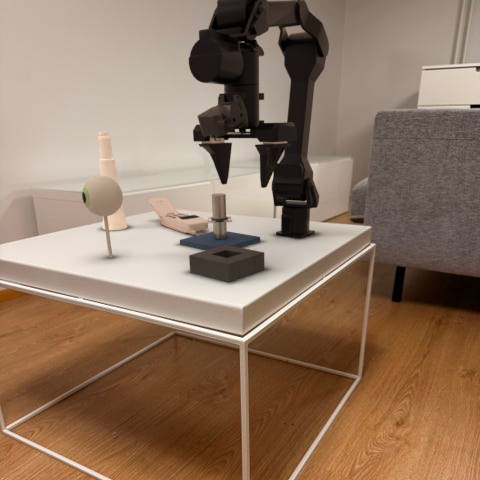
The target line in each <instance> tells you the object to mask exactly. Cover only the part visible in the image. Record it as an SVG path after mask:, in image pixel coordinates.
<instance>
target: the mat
mask: <svg viewBox="0 0 480 480" xmlns="http://www.w3.org/2000/svg"><path fill="white" fill-rule="evenodd" d="M260 242H261V236H257V235H251V234H245V233H240V232H233V231H229V230H227V239H223V240H216V239H214V234H213V231H209V232H205V233H202V234H197V235H193V236H189V237H185V238H181V239H179V245H181V246H186V247H191V248H195V249H200V250H203V251H206V250H209V249H213V248H216V247H220V246H223V245H229V246H234V247H239V248H244V247H247V246H250V245H253V244H256V243H260Z"/></svg>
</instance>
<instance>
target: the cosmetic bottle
mask: <svg viewBox="0 0 480 480" xmlns="http://www.w3.org/2000/svg"><path fill="white" fill-rule="evenodd" d="M98 135H99V136H98V137H97V140H98V142H97V143H98V149H99V150H98V151H99V157H100V158H99V159H98V167H99V176H106V177H109V178H111V179H113V180H114V181H115V182H116V183H117V184H118V185H119V186H120V183H119V182H120V181H119V176H118V169H117V165H116V159H115V158H114V157H113V148H112V140H111V136H109V131H99V132H98ZM107 218H108V226H109V231H121V230H126V229H127V228H128V222H127V217H126V215H125V210H124V205H123V204H122V205H121V207H120V208H119V210H118V211H117V212H115V213H114V214H112V215H110V216H107ZM102 230H105V224H104V217H103V216H102Z"/></svg>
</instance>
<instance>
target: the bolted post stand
mask: <svg viewBox="0 0 480 480" xmlns="http://www.w3.org/2000/svg"><path fill="white" fill-rule="evenodd" d="M226 197H227V196H226V193H223V192H222V193H221V192H218V193H212V194H211V206H212V216H209V217H207V221H208V224H212V230H213V231H212V232H213V234H214V239H216V240H223V239H227V231H228V227H227V226H228V223H231V222H233V219H232V216H227V198H226Z"/></svg>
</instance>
